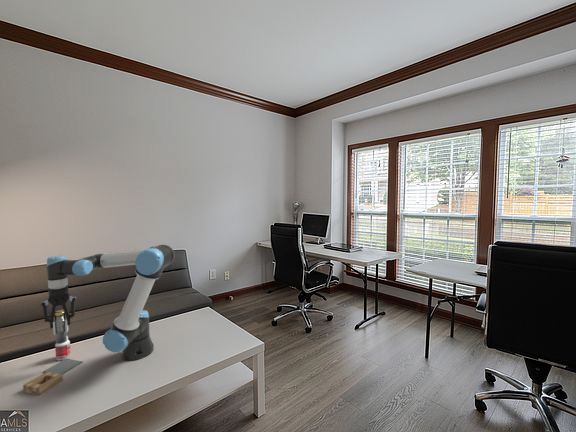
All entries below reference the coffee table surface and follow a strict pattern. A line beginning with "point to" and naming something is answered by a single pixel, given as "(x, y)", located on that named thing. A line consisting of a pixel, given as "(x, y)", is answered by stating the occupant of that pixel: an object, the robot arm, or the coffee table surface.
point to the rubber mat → (63, 366)
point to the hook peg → (60, 326)
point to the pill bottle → (63, 350)
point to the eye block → (38, 389)
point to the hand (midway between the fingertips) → (61, 332)
